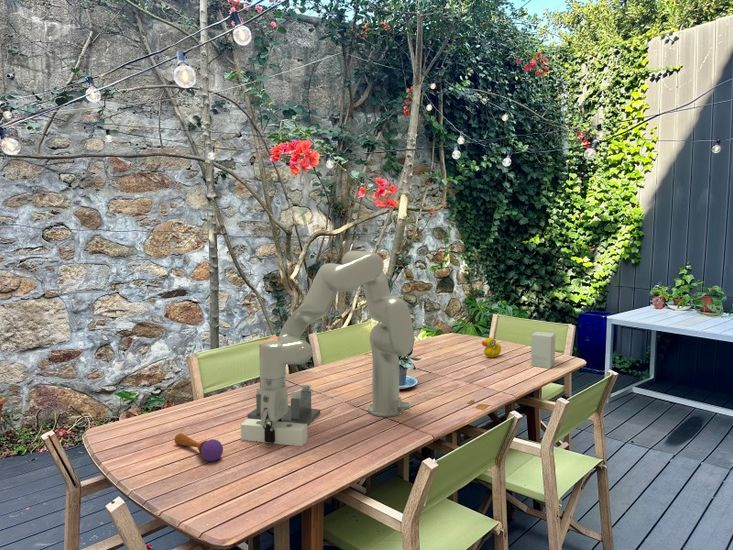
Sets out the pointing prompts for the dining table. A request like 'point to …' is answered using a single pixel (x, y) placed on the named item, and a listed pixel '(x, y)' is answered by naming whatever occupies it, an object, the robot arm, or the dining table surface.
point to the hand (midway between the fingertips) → (274, 437)
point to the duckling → (491, 348)
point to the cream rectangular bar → (283, 432)
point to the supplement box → (543, 349)
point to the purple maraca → (202, 446)
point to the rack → (292, 407)
